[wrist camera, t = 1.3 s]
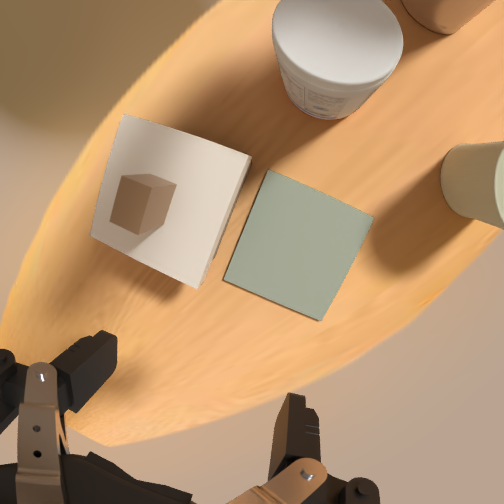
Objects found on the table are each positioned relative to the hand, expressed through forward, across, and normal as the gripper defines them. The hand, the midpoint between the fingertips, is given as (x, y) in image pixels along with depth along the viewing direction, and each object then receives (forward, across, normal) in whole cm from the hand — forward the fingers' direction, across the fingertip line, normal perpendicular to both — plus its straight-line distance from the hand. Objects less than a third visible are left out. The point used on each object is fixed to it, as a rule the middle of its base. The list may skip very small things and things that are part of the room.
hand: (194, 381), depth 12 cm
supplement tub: (+23, -3, -21) cm, 32 cm away
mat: (+24, -4, -2) cm, 24 cm away
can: (+23, -23, -16) cm, 37 cm away
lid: (+18, +10, -5) cm, 21 cm away
